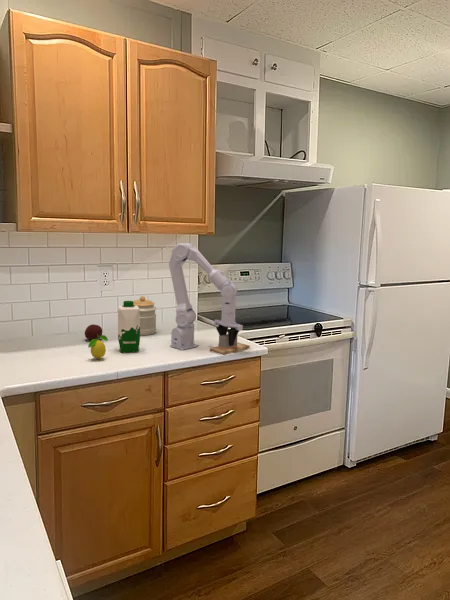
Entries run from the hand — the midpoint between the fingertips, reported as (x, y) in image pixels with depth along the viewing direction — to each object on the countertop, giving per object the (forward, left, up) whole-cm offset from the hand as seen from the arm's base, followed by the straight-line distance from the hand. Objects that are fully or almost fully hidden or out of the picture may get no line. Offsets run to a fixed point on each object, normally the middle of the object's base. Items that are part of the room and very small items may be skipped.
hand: (227, 344), depth 197 cm
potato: (-33, +50, -3) cm, 60 cm away
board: (+2, 0, -3) cm, 3 cm away
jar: (-8, +48, -3) cm, 49 cm away
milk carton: (-31, +26, -3) cm, 41 cm away
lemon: (-47, +23, -3) cm, 53 cm away
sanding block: (0, 0, -1) cm, 1 cm away
